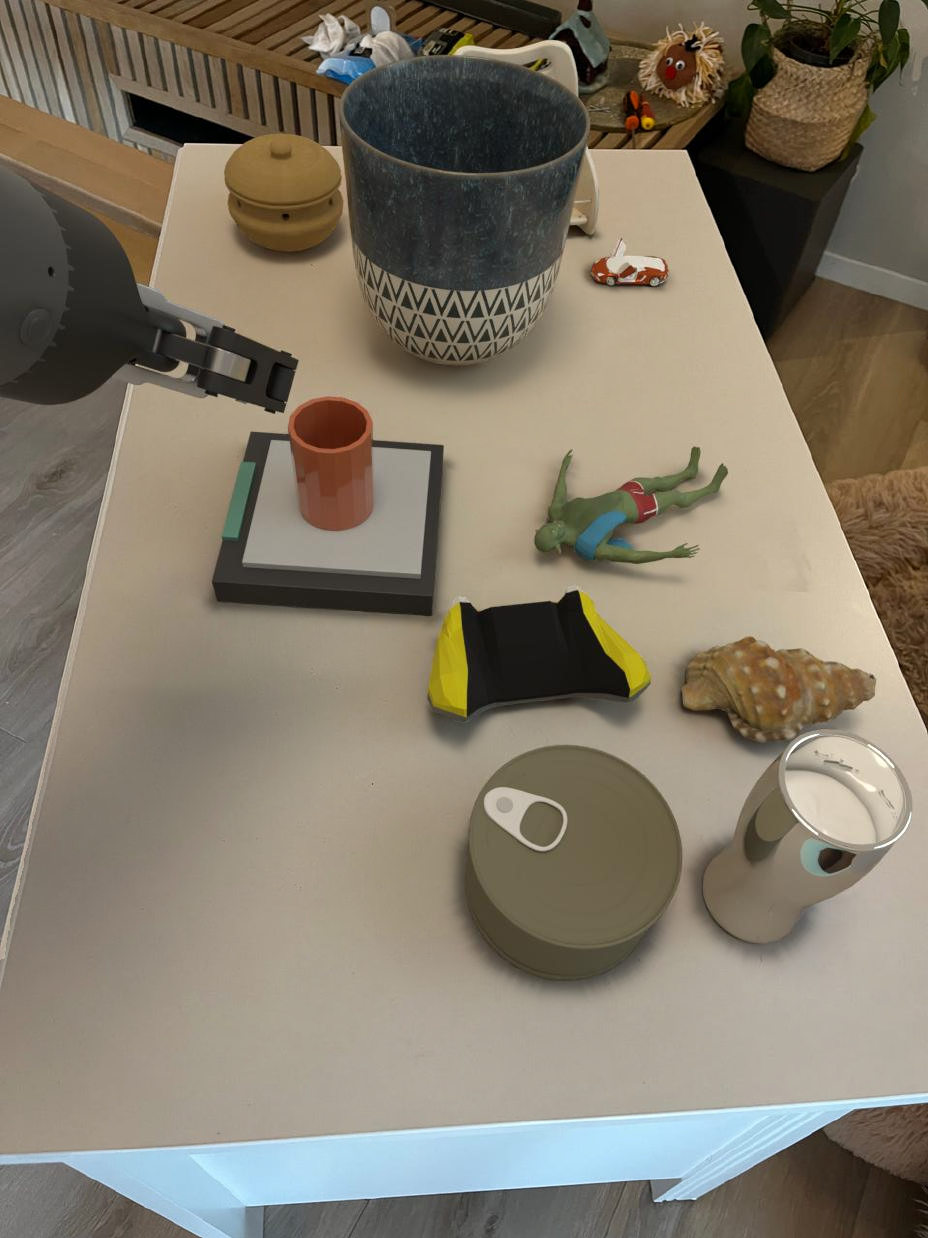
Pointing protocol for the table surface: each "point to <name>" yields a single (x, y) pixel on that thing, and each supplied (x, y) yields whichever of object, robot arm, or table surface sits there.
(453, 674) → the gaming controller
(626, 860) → the can
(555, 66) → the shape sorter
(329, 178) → the pot
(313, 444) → the cup
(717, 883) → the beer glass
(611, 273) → the toy car
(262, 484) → the scale
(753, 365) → the table surface
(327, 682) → the table surface
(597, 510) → the figurine
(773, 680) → the seashell
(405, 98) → the planter
